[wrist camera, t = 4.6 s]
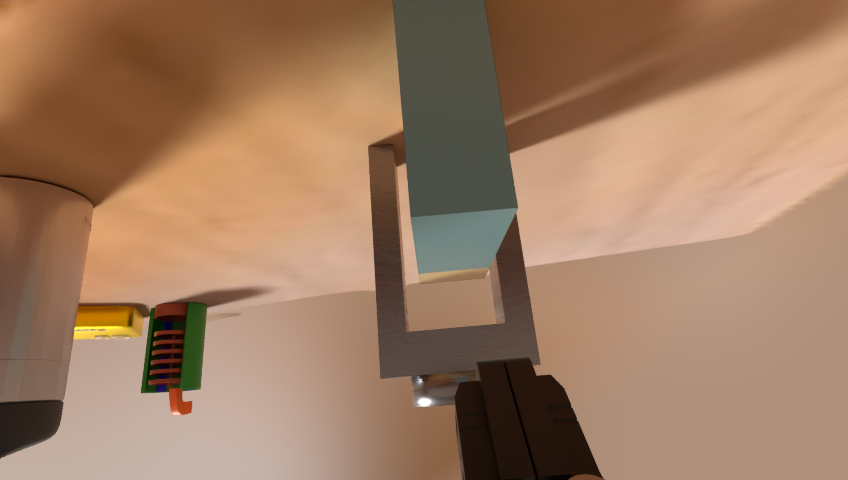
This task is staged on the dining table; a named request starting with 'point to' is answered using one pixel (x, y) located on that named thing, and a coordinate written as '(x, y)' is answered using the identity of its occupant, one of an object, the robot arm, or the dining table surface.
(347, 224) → the dining table surface
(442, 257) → the sage green rectangular prism
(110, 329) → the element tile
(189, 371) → the motor
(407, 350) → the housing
